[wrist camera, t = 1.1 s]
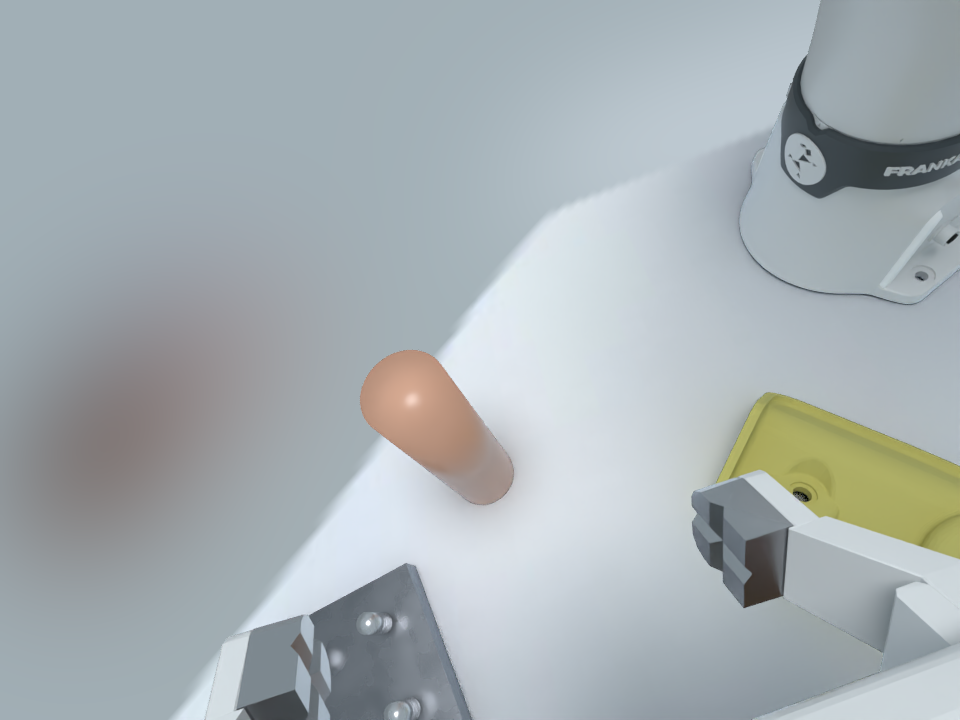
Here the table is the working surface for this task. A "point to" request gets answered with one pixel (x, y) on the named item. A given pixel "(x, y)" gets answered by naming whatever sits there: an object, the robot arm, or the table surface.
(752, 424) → the plastic component
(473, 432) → the canister
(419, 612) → the plate
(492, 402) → the table surface
